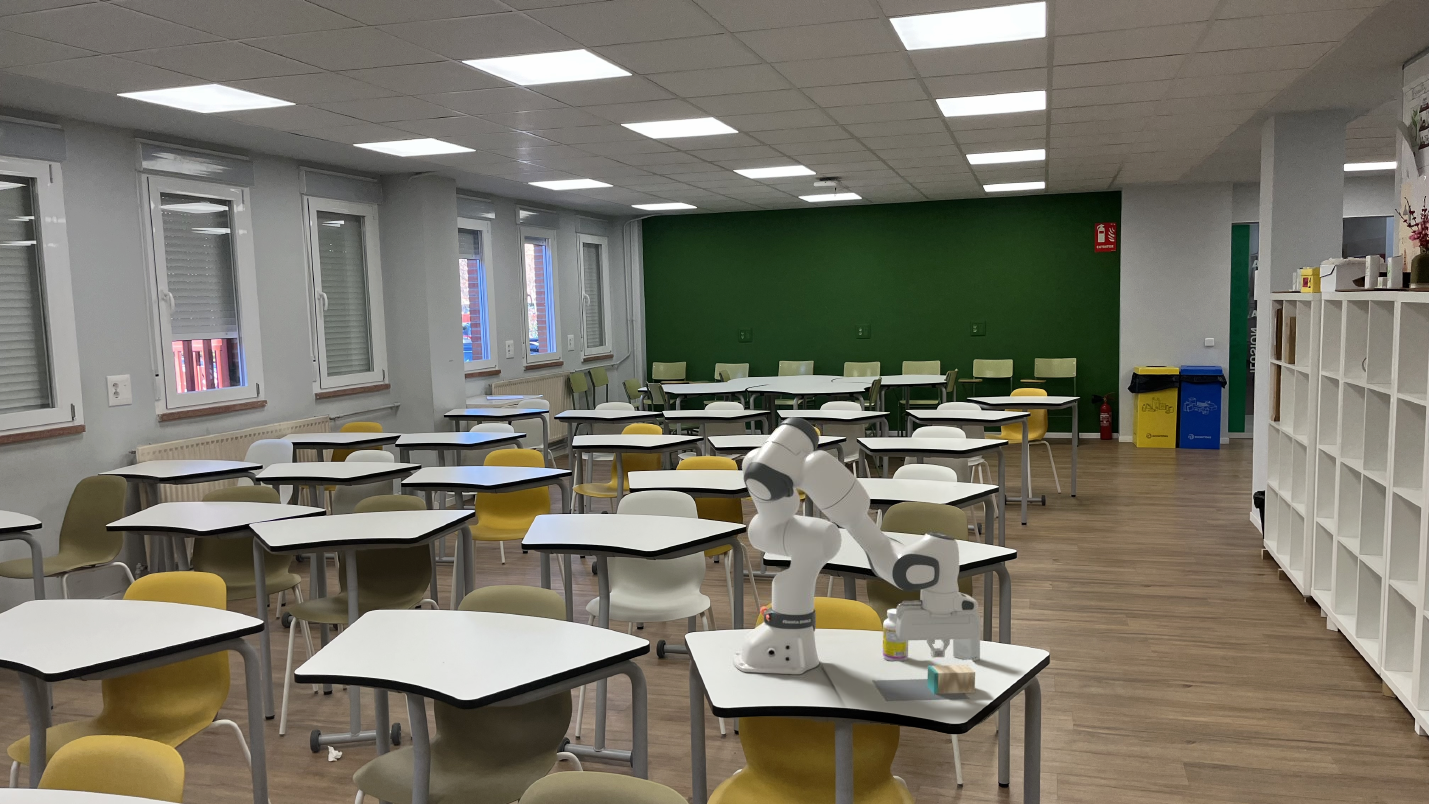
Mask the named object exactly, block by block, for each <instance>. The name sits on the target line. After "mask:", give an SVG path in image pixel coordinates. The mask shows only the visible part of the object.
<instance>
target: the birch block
mask: <svg viewBox="0 0 1429 804" xmlns="http://www.w3.org/2000/svg"><path fill="white" fill-rule="evenodd" d="M926 679H927V686H928V687H929V689H930V690H931V691H932V692H933V693H934V694H944V693H965V694H974V693H976V692H975V691H976V690H975V689H976V671H975V670H974V669H973V668H972V667H970V666H969V665H968V664H959V665H958V664H953V665H950V664H949V665H927V678H926Z"/></svg>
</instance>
